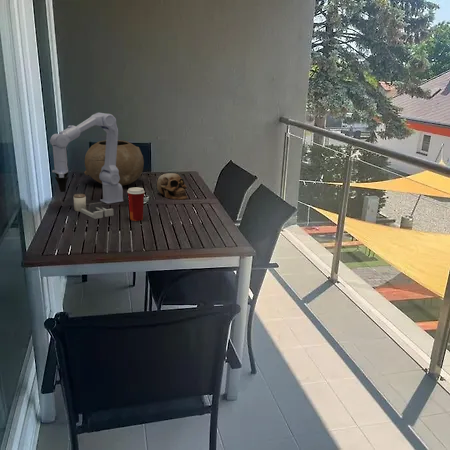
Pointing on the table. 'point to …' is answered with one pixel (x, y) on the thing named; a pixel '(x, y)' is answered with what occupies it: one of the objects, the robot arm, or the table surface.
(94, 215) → the lane
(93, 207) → the pusher
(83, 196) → the jar
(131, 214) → the paper cup
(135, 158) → the ceramic pot
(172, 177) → the tan skull
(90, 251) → the table surface
